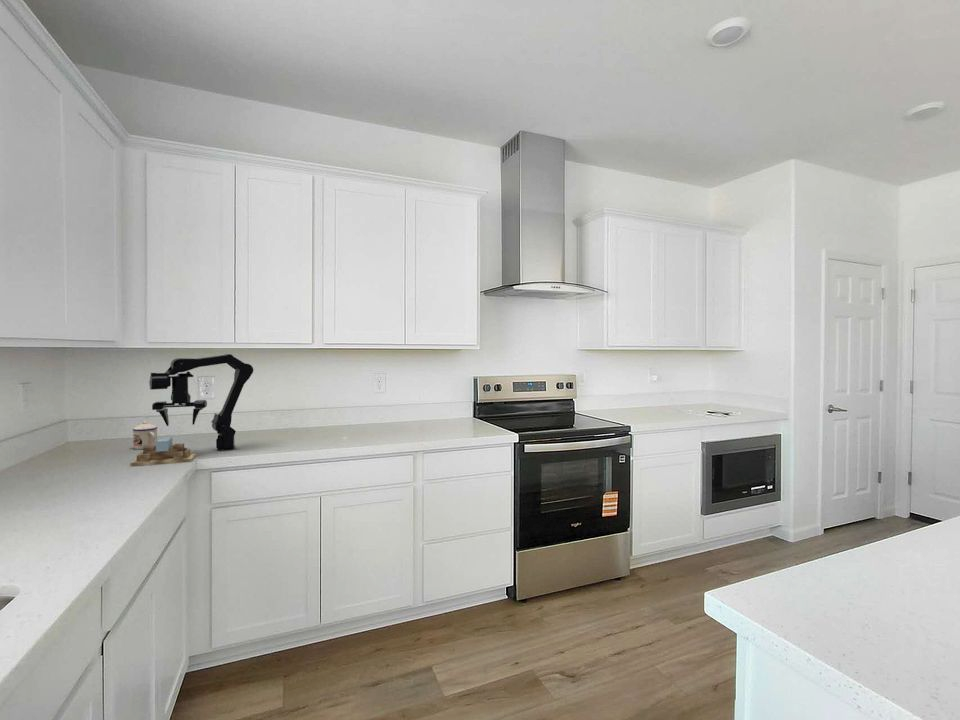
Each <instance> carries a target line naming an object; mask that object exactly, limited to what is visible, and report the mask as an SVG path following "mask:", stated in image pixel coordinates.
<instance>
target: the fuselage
mask: <svg viewBox="0 0 960 720" xmlns="http://www.w3.org/2000/svg"><path fill="white" fill-rule="evenodd" d="M184 448H185V442H183V443H174V444H173V446H172V448H171V449H170V450H169V451H159V452H156V445H151V446H145V447H144V448H143V449H142V452H143V454H150V460H160V459H173V458H174V452H179V451H183V456H184Z"/></svg>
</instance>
